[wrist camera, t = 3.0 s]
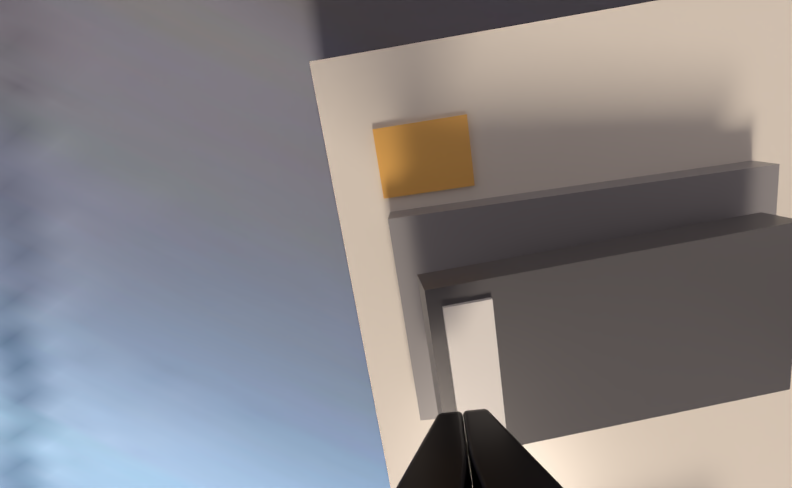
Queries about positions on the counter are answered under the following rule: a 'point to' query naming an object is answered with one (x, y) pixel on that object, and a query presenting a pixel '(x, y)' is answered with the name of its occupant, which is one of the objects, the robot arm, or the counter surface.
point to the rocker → (615, 327)
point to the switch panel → (562, 195)
